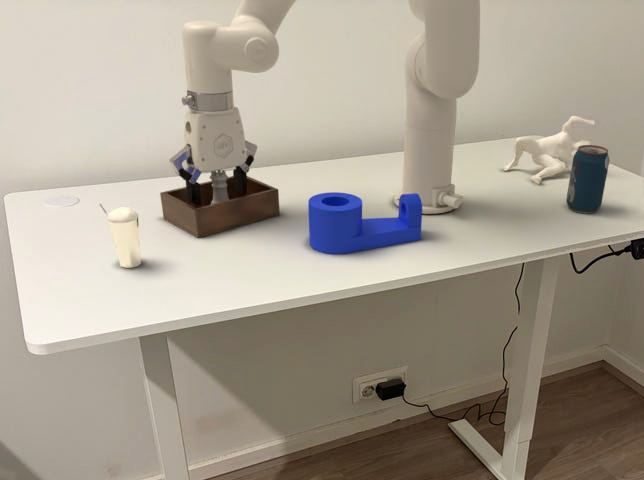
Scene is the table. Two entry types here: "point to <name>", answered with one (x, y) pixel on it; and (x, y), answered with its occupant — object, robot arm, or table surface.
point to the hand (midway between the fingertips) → (218, 197)
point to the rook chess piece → (219, 186)
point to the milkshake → (125, 235)
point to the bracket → (359, 223)
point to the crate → (220, 207)
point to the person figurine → (550, 150)
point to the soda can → (587, 179)
